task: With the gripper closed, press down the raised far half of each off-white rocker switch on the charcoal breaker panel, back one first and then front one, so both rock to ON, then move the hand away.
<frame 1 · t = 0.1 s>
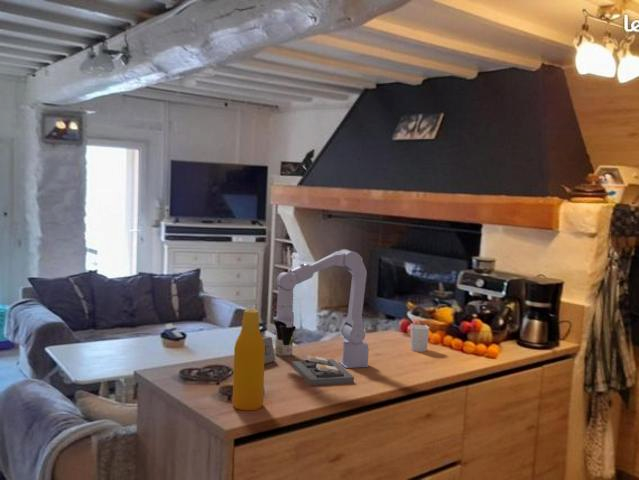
hand: (283, 342, 217), 10 cm above the worktop, tool pointing down, fingers open, 7 cm apart
back rocker: (317, 360, 219), point 4 cm above the worktop, hinge at -12.0°
front rocker: (327, 369, 208), point 4 cm above the worktop, hinge at -12.0°
white cup: (418, 350, 254), on the worktop
aerosol can: (283, 354, 237), on the worktop
electrical switch: (261, 362, 225), on the worktop
beer bottle: (247, 406, 180), on the worktop
breaker panel: (321, 374, 214), on the worktop
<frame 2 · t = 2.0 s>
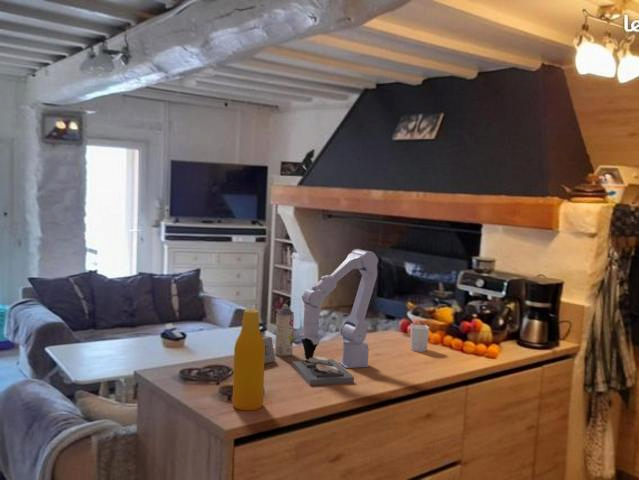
hand: (308, 358, 217), 4 cm above the worktop, tool pointing down, fingers closed, pressing on back rocker
back rocker: (317, 360, 219), point 4 cm above the worktop, hinge at -8.3°, touching gripper
everything else where it was.
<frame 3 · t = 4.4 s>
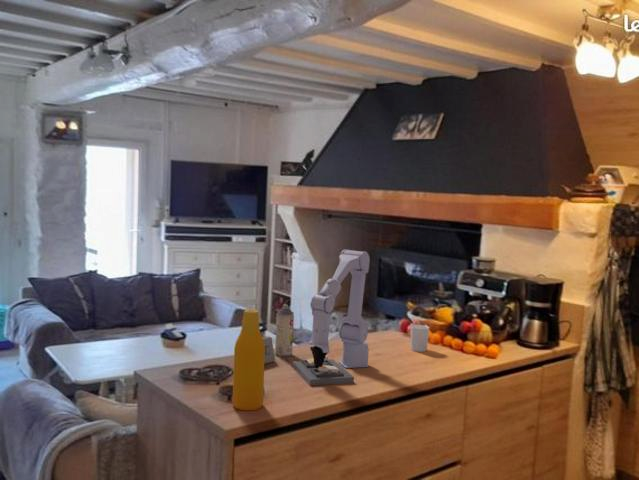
hand: (318, 367, 207), 4 cm above the worktop, tool pointing down, fingers closed, pressing on front rocker
back rocker: (317, 360, 219), point 4 cm above the worktop, hinge at 18.6°
front rocker: (327, 369, 208), point 4 cm above the worktop, hinge at -8.4°, touching gripper
everything else where it was.
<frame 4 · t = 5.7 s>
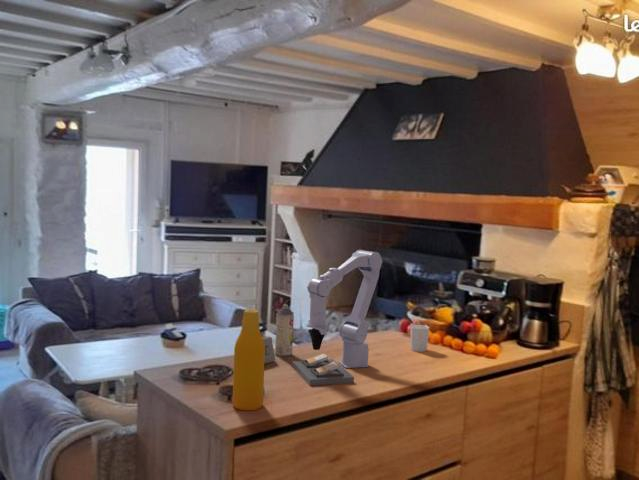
hand: (316, 349, 215), 9 cm above the worktop, tool pointing down, fingers closed
back rocker: (317, 360, 219), point 4 cm above the worktop, hinge at 17.0°
front rocker: (327, 369, 208), point 4 cm above the worktop, hinge at 20.0°
everything else where it was.
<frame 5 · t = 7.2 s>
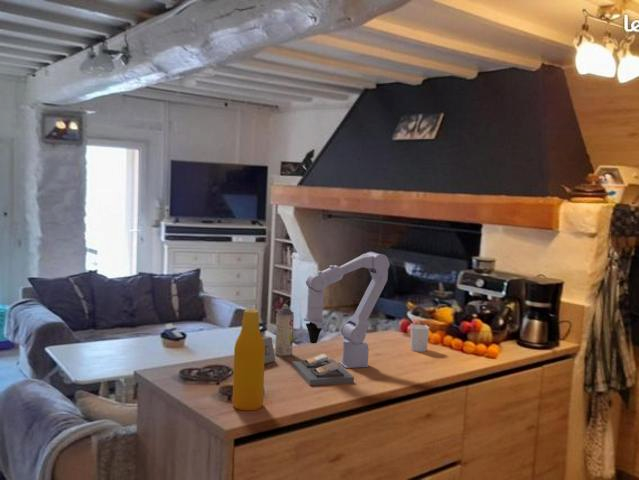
hand: (313, 342, 220), 9 cm above the worktop, tool pointing down, fingers closed
back rocker: (317, 360, 219), point 4 cm above the worktop, hinge at 16.4°
front rocker: (327, 369, 208), point 4 cm above the worktop, hinge at 18.2°
everything else where it was.
at the end: back rocker at +16° (first picture: -12°); front rocker at +18° (first picture: -12°) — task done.
